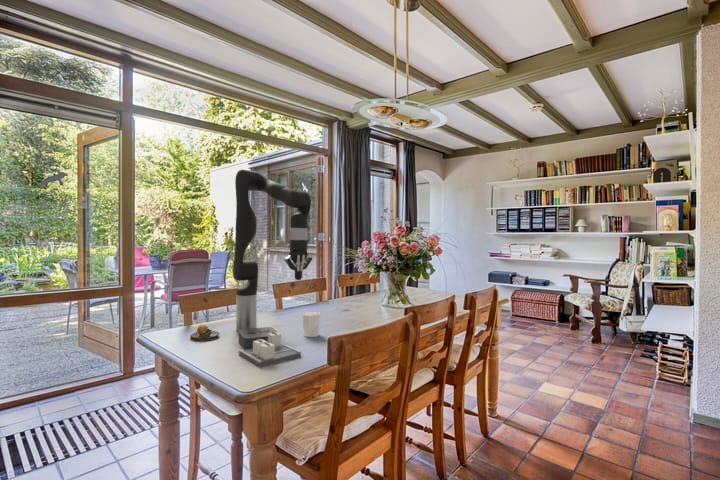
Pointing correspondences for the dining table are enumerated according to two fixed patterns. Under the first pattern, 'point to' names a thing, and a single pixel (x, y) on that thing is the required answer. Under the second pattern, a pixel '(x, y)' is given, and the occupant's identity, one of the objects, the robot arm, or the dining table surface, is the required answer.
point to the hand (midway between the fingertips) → (298, 279)
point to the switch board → (281, 354)
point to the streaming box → (253, 336)
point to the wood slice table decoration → (204, 334)
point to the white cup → (311, 324)
